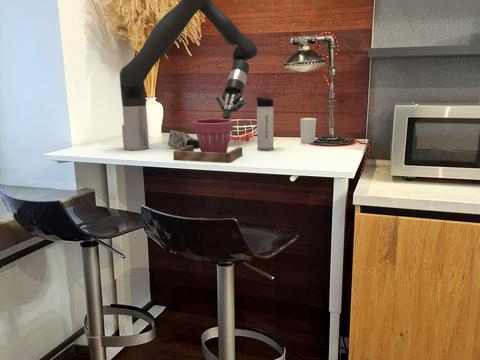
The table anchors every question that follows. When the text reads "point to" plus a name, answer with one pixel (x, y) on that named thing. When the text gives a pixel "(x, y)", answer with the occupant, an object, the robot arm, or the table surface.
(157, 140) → the table surface
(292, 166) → the table surface
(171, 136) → the caster wheel
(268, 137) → the travel mug
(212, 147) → the plant pot
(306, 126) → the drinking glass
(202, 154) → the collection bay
